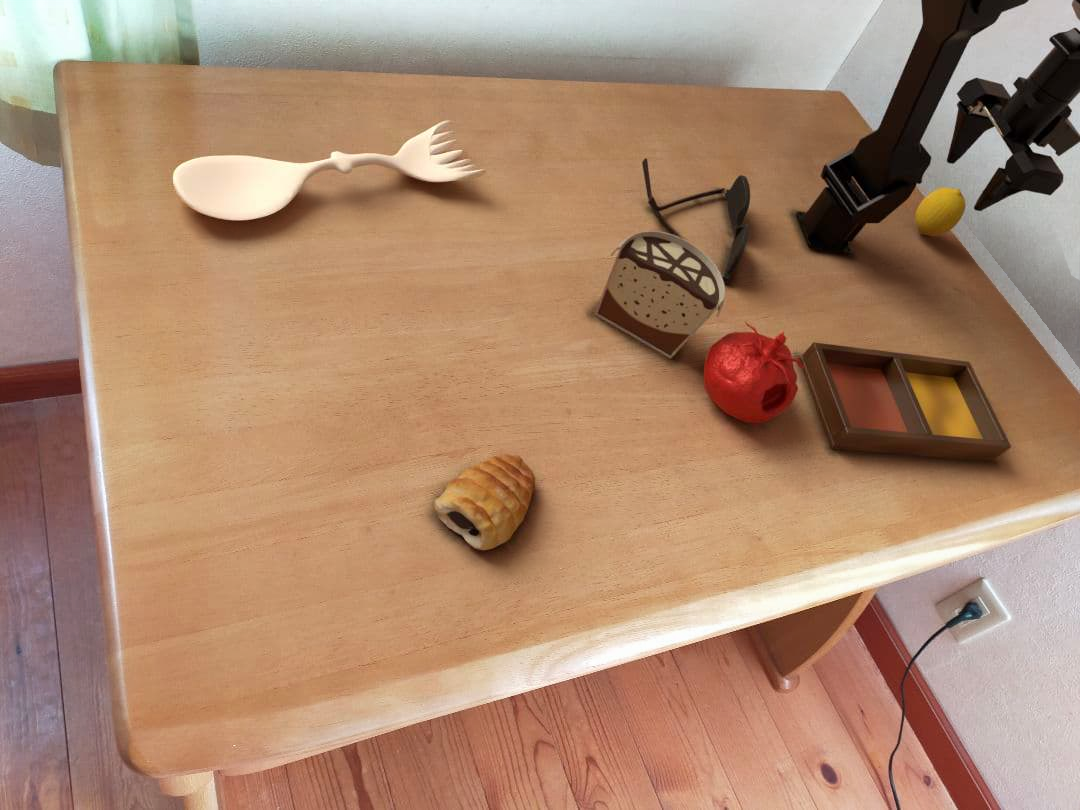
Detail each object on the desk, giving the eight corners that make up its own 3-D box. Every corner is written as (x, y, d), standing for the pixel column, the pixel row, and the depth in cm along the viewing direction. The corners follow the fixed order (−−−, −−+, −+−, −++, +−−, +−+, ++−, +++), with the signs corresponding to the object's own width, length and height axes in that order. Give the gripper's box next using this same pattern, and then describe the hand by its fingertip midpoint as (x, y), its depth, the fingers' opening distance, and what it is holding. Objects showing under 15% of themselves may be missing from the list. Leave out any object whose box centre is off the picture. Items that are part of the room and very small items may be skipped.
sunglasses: (634, 160, 112) (649, 129, 108) (736, 199, 114) (755, 170, 110) (622, 246, 101) (639, 215, 98) (735, 287, 104) (756, 258, 100)
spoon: (481, 192, 99) (489, 169, 96) (192, 240, 82) (193, 213, 80) (444, 139, 102) (451, 115, 100) (160, 175, 86) (159, 147, 83)
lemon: (939, 253, 122) (979, 210, 116) (904, 238, 122) (943, 195, 115) (936, 228, 126) (974, 185, 120) (902, 214, 125) (938, 170, 119)
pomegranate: (676, 392, 91) (718, 335, 84) (715, 342, 97) (757, 285, 90) (754, 450, 89) (804, 398, 82) (789, 396, 96) (838, 343, 89)
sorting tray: (830, 448, 93) (847, 432, 91) (798, 359, 100) (813, 342, 97) (992, 461, 100) (1012, 447, 98) (952, 377, 107) (969, 361, 104)
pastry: (490, 447, 79) (502, 424, 76) (548, 495, 78) (563, 473, 75) (425, 513, 73) (435, 491, 70) (487, 565, 72) (500, 545, 70)
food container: (699, 331, 97) (743, 269, 90) (682, 366, 93) (727, 304, 86) (602, 275, 97) (638, 208, 90) (582, 307, 93) (618, 240, 86)
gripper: (1139, 150, 102) (1039, 244, 114) (1066, 54, 113) (981, 150, 125) (1068, 132, 99) (972, 232, 111) (999, 35, 109) (918, 135, 121)
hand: (963, 185), depth 117 cm, fingers open, 9 cm apart
